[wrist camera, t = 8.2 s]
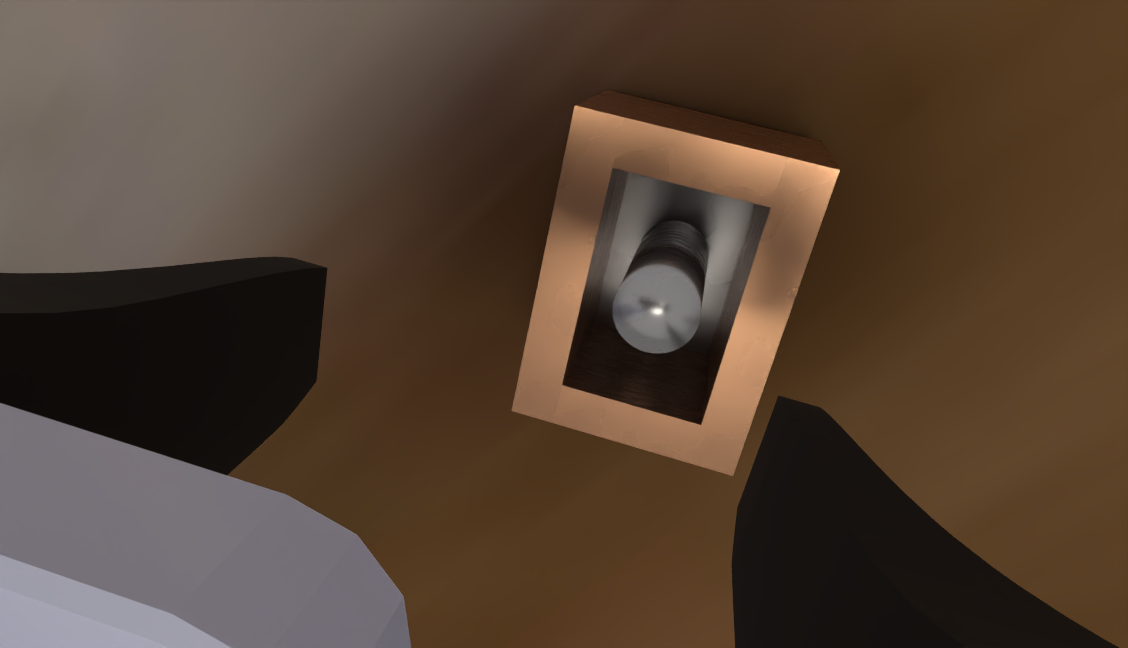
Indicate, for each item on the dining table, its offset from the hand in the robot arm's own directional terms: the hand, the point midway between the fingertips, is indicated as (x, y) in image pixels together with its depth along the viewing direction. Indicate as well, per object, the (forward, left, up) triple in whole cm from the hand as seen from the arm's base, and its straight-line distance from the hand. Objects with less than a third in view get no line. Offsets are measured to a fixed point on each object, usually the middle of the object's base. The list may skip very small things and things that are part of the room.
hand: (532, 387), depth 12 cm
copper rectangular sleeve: (0, -2, -9) cm, 9 cm away
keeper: (0, -2, -10) cm, 10 cm away
